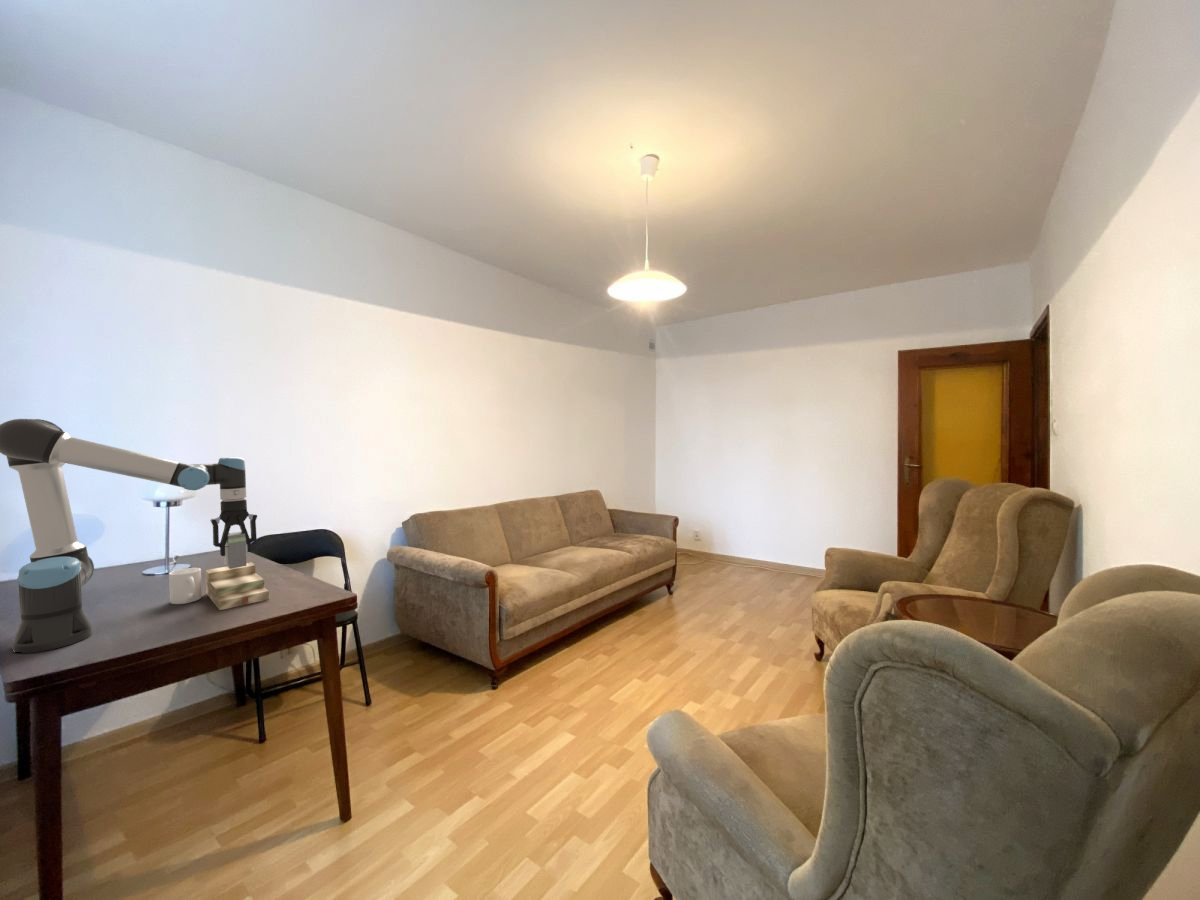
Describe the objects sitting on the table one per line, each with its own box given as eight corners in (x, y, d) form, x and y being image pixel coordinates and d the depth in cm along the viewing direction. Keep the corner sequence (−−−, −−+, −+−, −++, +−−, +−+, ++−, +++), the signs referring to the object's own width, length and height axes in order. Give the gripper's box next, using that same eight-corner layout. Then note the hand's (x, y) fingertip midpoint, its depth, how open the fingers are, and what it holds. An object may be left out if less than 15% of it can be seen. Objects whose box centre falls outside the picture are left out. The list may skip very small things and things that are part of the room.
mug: (178, 608, 162) (177, 577, 162) (166, 601, 169) (165, 572, 168) (209, 600, 169) (208, 571, 169) (196, 594, 176) (195, 566, 175)
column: (229, 569, 170) (227, 535, 169) (226, 566, 173) (224, 533, 173) (246, 565, 173) (245, 533, 173) (243, 563, 177) (242, 531, 176)
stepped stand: (220, 610, 160) (219, 584, 160) (206, 593, 177) (205, 570, 176) (269, 599, 171) (268, 574, 170) (252, 584, 187) (251, 562, 187)
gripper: (203, 503, 163) (206, 570, 164) (266, 497, 176) (268, 559, 177) (199, 501, 168) (202, 566, 169) (260, 495, 181) (263, 555, 182)
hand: (236, 562), depth 173 cm, fingers closed on column, 5 cm apart
